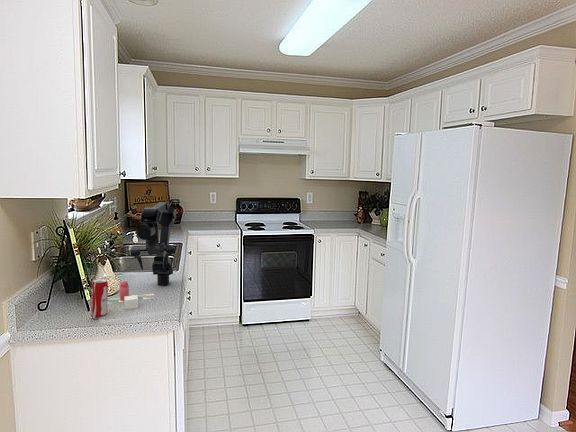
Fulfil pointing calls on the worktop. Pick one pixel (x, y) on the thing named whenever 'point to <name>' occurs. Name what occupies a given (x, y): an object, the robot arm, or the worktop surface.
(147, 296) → the board
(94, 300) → the beverage can
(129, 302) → the die
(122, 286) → the red cylinder
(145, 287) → the worktop surface
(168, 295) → the worktop surface
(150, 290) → the worktop surface
